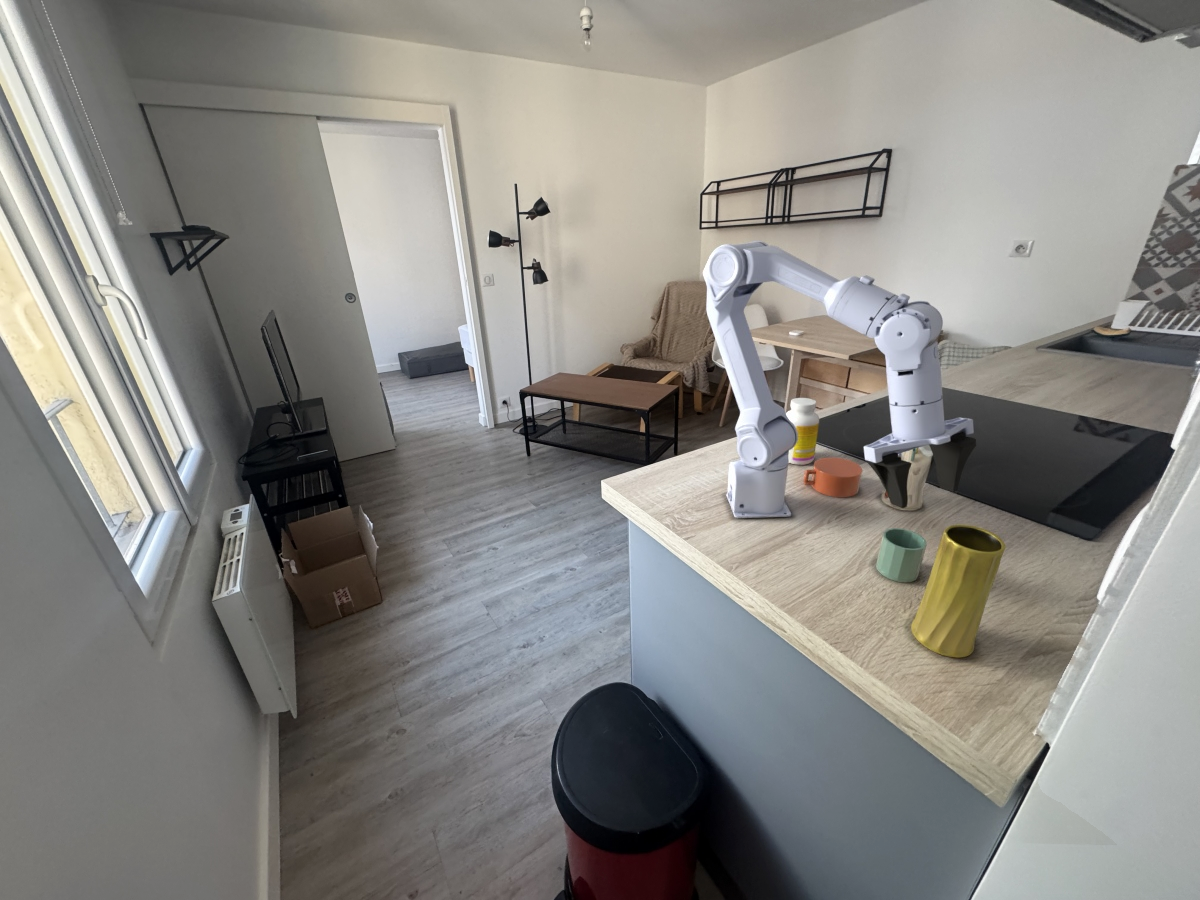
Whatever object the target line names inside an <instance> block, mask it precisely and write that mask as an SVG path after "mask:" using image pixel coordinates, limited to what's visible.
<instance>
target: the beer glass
mask: <svg viewBox="0 0 1200 900" xmlns="http://www.w3.org/2000/svg"><path fill="white" fill-rule="evenodd" d="M898 457H901V460H903V461H907V462H910V463H912V464H911V467H910V470H909V474H908V480H907V494H908V503H907V507H905V508H900V507H898V506H895V505H893V504H891V502H890V499H889V497H888V494H887V492H886V490H885V488H884V489H883V491H882V493H881V496H880V499H881V501H882V503H884V504H885V505H887V506H888V507H890V508H893V509H896V510H900V511H906V512H912V511H917V510H920V509H921V508H922V506H923V493H924V487H925V485H926V482H927V481H928V478H929V476H930V475H931V473H932V471H933V468H934V467H935V466H936V464H935V460H934V456H933V453H932V451H931V448H930V446H929V445H926V446H922V447H919V448H916V449H913V450H909V451H906V452H903V453H900V454H898Z"/></svg>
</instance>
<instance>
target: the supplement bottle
mask: <svg viewBox="0 0 1200 900" xmlns="http://www.w3.org/2000/svg"><path fill="white" fill-rule="evenodd" d="M789 405H790V406H789V407H790V410H788V411H787V412H785V413H786V415H787V417H788V419H789V420H790V421H791V422H792V423H793V424H794V426H795V427H796V429H797V432H798V441H797V443H796V445H795V446H794V447H793V448H792V449H791V450H789V455H788V458H789V462H788V464H790V465H791V464H792V465H797V466H798V465H799V466H802V465H809V464H811V463H812V462H813V461H814V460H815V455H816V447H817V441H818V434H819V433H818V432H819V425H820V417H819V414H818V413H816V412H815V410H816V408H817V401H816V400H815V399H812V398H808V397H795V398H792V399H791V400H790V404H789Z"/></svg>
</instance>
